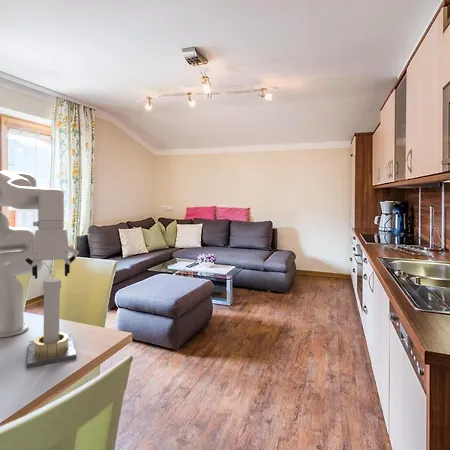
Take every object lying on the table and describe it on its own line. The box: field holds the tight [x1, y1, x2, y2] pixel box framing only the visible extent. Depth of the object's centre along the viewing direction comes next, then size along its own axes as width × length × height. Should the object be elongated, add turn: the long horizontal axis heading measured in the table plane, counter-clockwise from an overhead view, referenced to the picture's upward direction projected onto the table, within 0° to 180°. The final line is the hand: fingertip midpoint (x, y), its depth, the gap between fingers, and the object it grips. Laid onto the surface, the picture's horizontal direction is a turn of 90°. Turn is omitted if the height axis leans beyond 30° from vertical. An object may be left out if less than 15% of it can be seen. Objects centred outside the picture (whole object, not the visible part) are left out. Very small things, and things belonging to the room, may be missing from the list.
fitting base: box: [26, 332, 77, 369], centre depth 111 cm, size 18×14×6 cm
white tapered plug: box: [42, 262, 62, 343], centre depth 108 cm, size 6×6×30 cm
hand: (51, 276), depth 107 cm, fingers open, 8 cm apart
